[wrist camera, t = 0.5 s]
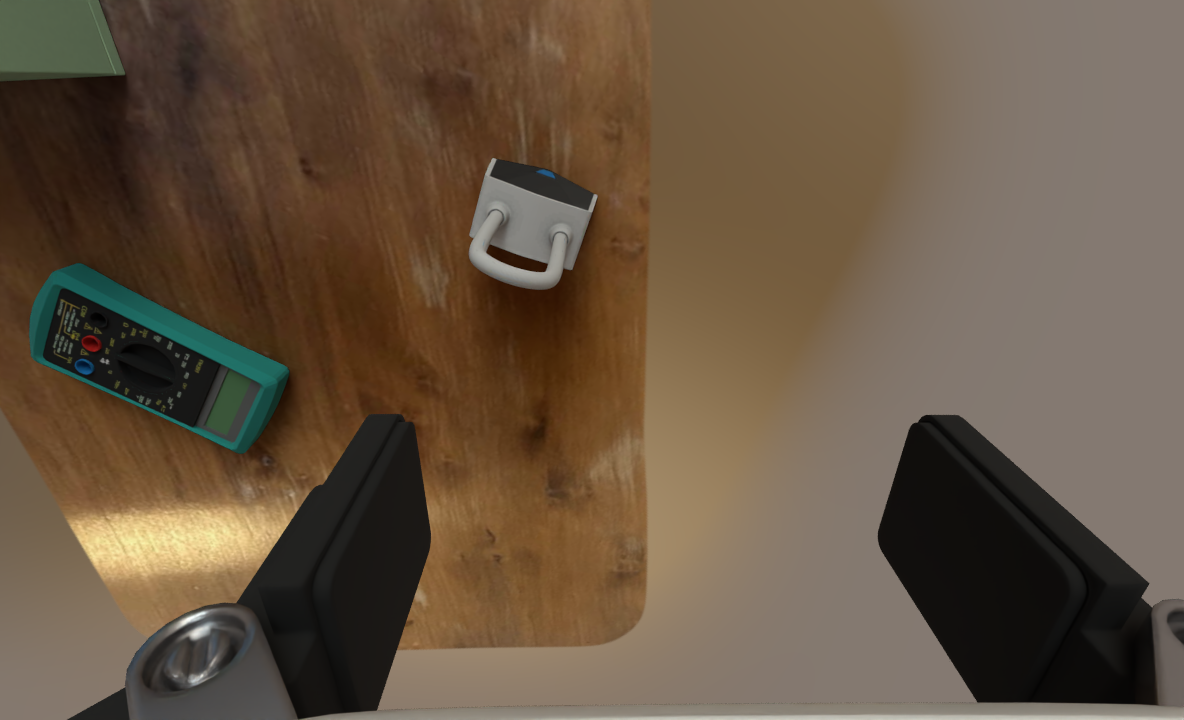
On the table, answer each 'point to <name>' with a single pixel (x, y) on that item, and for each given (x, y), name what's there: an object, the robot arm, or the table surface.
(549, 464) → the table surface
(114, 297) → the digital multimeter
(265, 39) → the table surface
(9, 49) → the holder
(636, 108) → the table surface
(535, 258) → the padlock
